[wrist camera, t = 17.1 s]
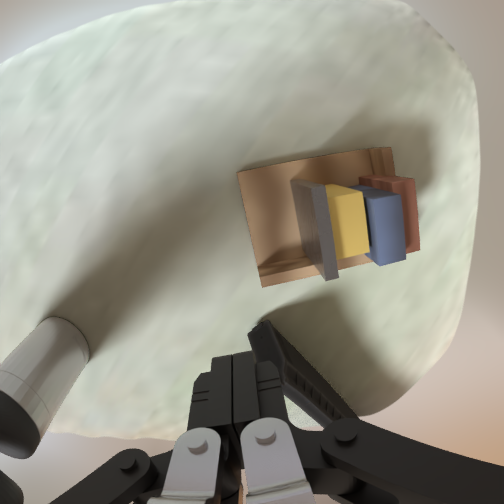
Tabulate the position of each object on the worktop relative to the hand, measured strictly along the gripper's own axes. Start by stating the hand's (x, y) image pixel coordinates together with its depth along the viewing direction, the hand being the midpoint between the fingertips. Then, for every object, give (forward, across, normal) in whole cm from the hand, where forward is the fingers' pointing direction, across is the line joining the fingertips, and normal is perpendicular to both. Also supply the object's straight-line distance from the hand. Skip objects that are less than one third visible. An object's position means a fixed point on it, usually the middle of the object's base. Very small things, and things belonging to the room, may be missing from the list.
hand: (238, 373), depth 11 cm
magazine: (+27, -7, +26) cm, 38 cm away
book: (+26, -10, 0) cm, 27 cm away
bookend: (+25, -8, 0) cm, 26 cm away
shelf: (+27, -10, 0) cm, 29 cm away
